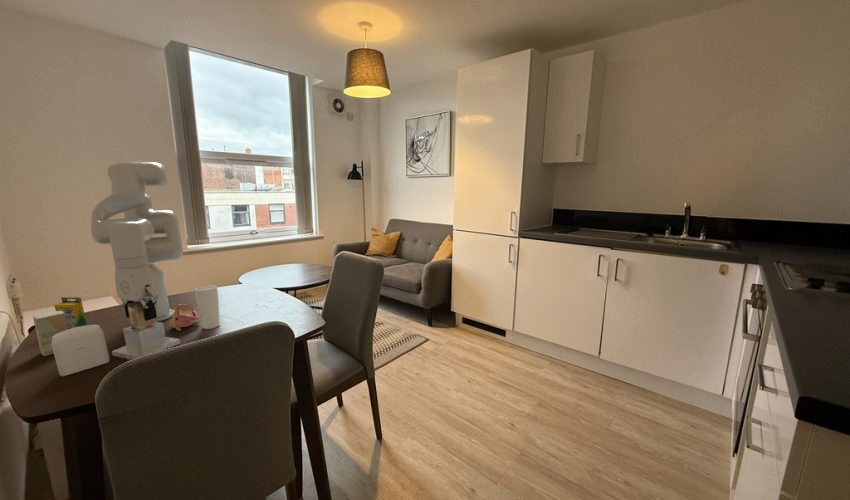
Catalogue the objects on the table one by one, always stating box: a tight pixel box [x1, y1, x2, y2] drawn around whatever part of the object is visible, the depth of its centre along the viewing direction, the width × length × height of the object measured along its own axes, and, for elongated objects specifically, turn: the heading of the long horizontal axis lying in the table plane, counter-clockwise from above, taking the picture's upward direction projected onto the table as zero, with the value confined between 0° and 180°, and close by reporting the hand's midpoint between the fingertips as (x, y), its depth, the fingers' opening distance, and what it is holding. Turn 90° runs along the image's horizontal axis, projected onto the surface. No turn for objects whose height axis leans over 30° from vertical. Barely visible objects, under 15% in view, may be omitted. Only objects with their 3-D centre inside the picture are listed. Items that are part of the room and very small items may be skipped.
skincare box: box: [32, 310, 68, 357], centre depth 104 cm, size 6×4×12 cm
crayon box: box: [54, 296, 88, 329], centre depth 120 cm, size 7×3×12 cm, turn 90°
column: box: [127, 300, 155, 330], centre depth 104 cm, size 4×4×14 cm
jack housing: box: [111, 321, 181, 361], centre depth 104 cm, size 12×12×8 cm
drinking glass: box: [194, 284, 221, 330], centre depth 120 cm, size 7×7×15 cm
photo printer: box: [52, 324, 111, 377], centre depth 94 cm, size 10×4×12 cm, turn 140°
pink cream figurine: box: [169, 303, 200, 331], centre depth 122 cm, size 9×10×10 cm
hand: (141, 317), depth 103 cm, fingers open, 7 cm apart
